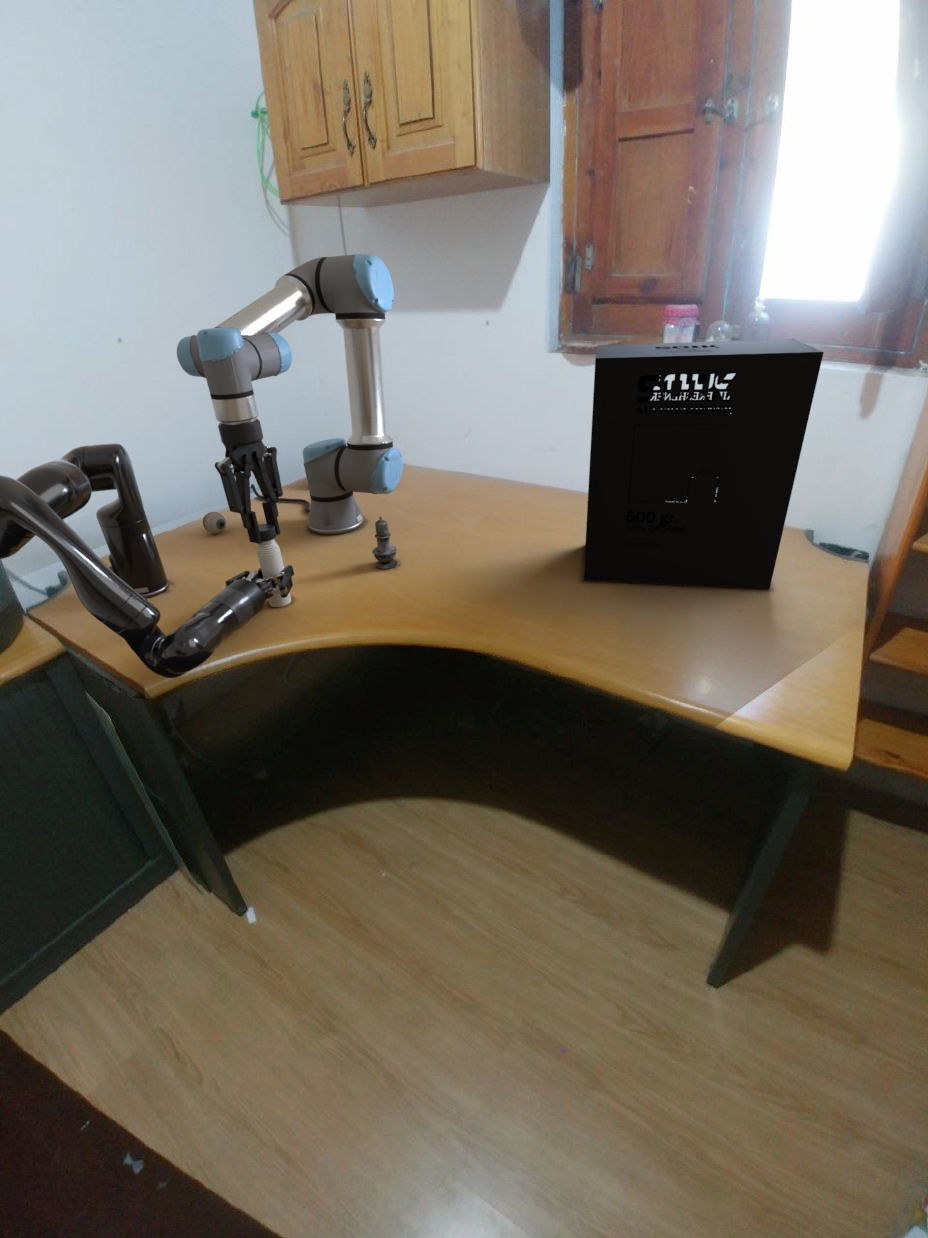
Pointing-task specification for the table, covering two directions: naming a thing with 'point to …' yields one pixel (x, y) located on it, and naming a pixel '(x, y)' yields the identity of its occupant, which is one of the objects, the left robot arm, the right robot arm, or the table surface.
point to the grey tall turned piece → (384, 546)
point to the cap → (267, 532)
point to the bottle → (272, 568)
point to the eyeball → (214, 522)
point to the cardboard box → (695, 460)
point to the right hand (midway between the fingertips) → (265, 537)
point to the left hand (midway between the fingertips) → (280, 568)
